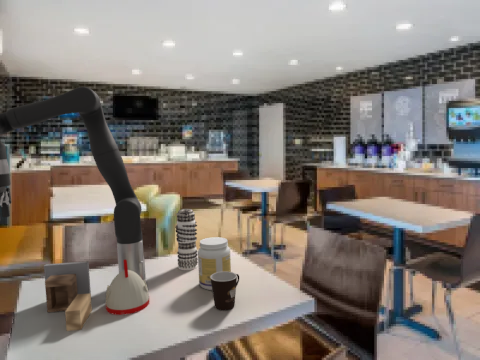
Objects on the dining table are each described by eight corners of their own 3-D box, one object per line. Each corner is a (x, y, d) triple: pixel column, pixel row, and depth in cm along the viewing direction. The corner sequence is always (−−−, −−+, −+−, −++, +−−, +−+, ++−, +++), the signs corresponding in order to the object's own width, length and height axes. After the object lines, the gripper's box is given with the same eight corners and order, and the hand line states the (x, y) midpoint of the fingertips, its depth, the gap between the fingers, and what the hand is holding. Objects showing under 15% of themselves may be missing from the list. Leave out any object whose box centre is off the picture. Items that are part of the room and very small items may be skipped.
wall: (91, 297, 126) (88, 261, 125) (89, 298, 125) (87, 262, 123) (48, 300, 124) (45, 264, 123) (47, 302, 123) (43, 265, 121)
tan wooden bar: (91, 311, 116) (90, 293, 115) (81, 330, 104) (79, 310, 103) (78, 312, 115) (77, 294, 115) (66, 331, 103) (65, 311, 103)
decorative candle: (202, 264, 157) (200, 208, 155) (192, 271, 149) (189, 212, 146) (184, 262, 161) (181, 207, 158) (173, 269, 152) (170, 211, 149)
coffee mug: (218, 314, 111) (216, 283, 110) (207, 303, 118) (206, 274, 117) (250, 305, 116) (250, 276, 115) (238, 296, 124) (237, 268, 123)
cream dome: (147, 293, 128) (145, 252, 127) (151, 309, 115) (149, 264, 114) (105, 300, 123) (102, 258, 122) (105, 318, 110) (102, 271, 109)
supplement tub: (223, 276, 143) (222, 234, 141) (236, 287, 132) (235, 242, 130) (194, 282, 137) (192, 239, 136) (205, 293, 126) (203, 247, 125)
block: (78, 303, 121) (76, 273, 120) (73, 309, 116) (71, 279, 115) (53, 305, 120) (50, 275, 119) (47, 312, 115) (44, 281, 114)
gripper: (0, 173, 117) (6, 222, 119) (15, 170, 131) (20, 214, 132) (-26, 175, 115) (-20, 224, 117) (-8, 172, 129) (-3, 216, 131)
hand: (1, 219), depth 125 cm, fingers open, 8 cm apart
